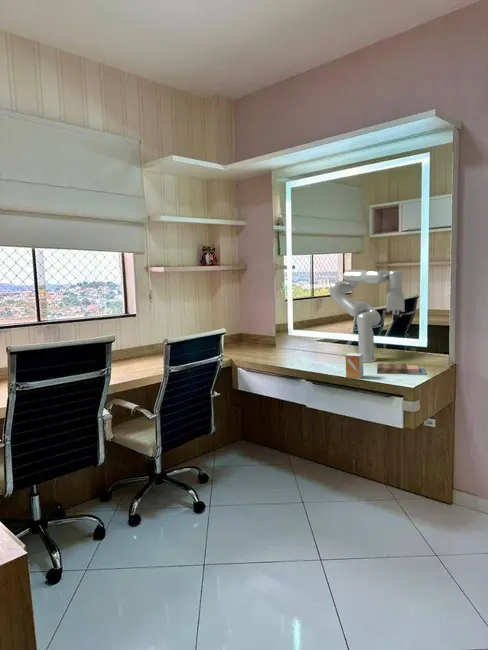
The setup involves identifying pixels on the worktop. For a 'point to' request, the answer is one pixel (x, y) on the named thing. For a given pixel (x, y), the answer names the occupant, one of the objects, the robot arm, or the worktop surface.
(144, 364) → the worktop surface
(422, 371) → the mat
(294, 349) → the worktop surface
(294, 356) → the worktop surface
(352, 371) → the small box
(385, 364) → the platform
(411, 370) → the tile
